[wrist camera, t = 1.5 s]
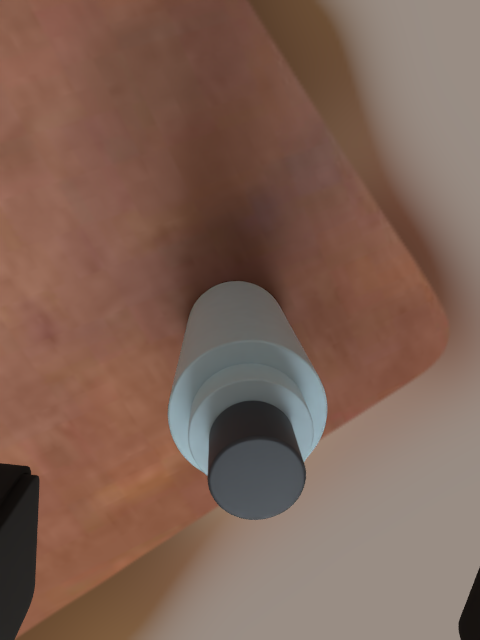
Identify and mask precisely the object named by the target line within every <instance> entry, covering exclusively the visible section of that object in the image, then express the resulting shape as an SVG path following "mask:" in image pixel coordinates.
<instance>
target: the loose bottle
mask: <svg viewBox="0 0 480 640" xmlns="http://www.w3.org/2000/svg"><path fill="white" fill-rule="evenodd" d="M326 418H327V399H326V394H325V390H324V387H323V385H322V382H321V380H320V378H319V376H318V374H317V373H316V371H315V369H314V367H313V365H312V363H311V362H310V360H309V358H308V356H307V354H306V353H305V351H304V349H303V347H302V345H301V344H300V342H299V340H298V338H297V336H296V335H295V333H294V331H293V329H292V327H291V326H290V324H289V322H288V320H287V318H286V317H285V315H284V313H283V311H282V309H281V308H280V306H279V304H278V303H277V301H276V300H275V299H274V297H273V296H272V295H271V294H270V293H269V292H267V291H266V290H265V289H263V288H261V287H259V286H258V285H255V284H252V283H249V282H244V281H230V282H224V283H221V284H218V285H216V286H214V287H212V288H210V289H209V290H207V291H206V292H205V293H203V294H202V295H201V296H200V297H199V298H198V300H197V301H196V302H195V304H194V306H193V307H192V309H191V312H190V315H189V318H188V322H187V327H186V331H185V335H184V339H183V344H182V348H181V352H180V356H179V361H178V365H177V369H176V373H175V378H174V382H173V386H172V390H171V395H170V399H169V404H168V422H169V427H170V432H171V435H172V437H173V440H174V442H175V444H176V445H177V447H178V449H179V451H180V452H181V453H182V454H183V456H184V457H185V458H186V459H187V460H188V461H189V462H190V463H191V464H192V465H193V466H195V467H196V468H197V469H199V470H200V471H202V472H204V473H205V474H206V475H207V476H208V486H209V490H210V492H211V495H212V497H213V498H214V500H215V501H216V502H217V504H218V505H219V506H220V507H221V508H222V509H224V510H225V511H226V512H228V513H230V514H231V515H234V516H237V517H239V518H243V519H249V520H258V519H266V518H270V517H273V516H276V515H278V514H280V513H282V512H284V511H285V510H287V509H288V508H290V507H291V506H292V505H293V504H294V503H295V502H296V500H297V499H298V497H299V496H300V495H301V492H302V490H303V488H304V484H305V480H306V470H305V465H304V461H305V460H306V458H307V457H308V456H309V455H310V454H311V452H312V451H313V450H314V448H315V447H316V445H317V444H318V442H319V440H320V438H321V436H322V434H323V431H324V427H325V424H326Z"/></svg>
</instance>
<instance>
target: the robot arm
mask: <svg viewBox="0 0 480 640" xmlns="http://www.w3.org/2000/svg"><path fill="white" fill-rule="evenodd" d="M38 503H39V476H37V475H31V470H30V467H28V466H21V465H11V464H2V463H0V640H14V639H15V637H16V635H17V633H18V631H19V628H20V626H21V624H22V622H23V620H24V618H25V616H26V613H27V611H28V609H29V606H30V604H31V601H32V597H33V593H34V588H35V570H36V548H37V525H38ZM459 634H460V638H461V640H480V568H479V571H478V573H477V576H476V578H475V581H474V584H473V586H472V589H471V591H470V594H469V597H468V600H467V602H466V604H465V607H464V610H463V612H462V615H461V617H460V620H459Z"/></svg>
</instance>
